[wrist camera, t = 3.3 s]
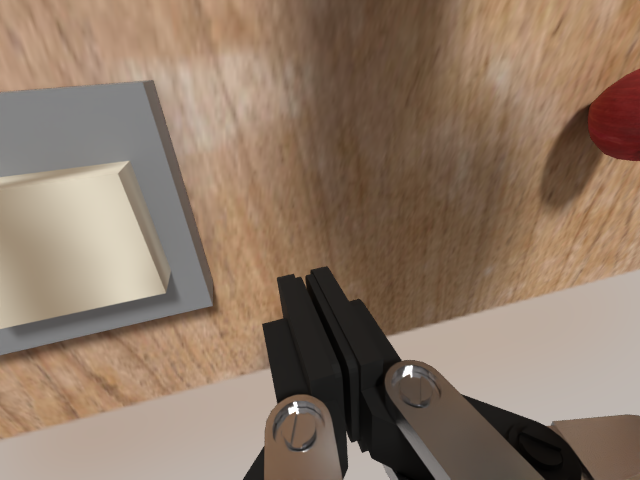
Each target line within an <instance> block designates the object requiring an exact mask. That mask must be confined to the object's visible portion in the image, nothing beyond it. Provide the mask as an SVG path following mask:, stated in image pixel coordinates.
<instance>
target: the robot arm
mask: <svg viewBox="0 0 640 480" xmlns="http://www.w3.org/2000/svg"><path fill="white" fill-rule="evenodd" d="M310 273H311V274H310V275H306V277H305V278H306V287H305V284H304V282H303V280H302V278H301V277H297V278H295V276H294V274H291V275H286V276H282V277H277V282H278V288H279V294H280V300H281V306H282V312H283V318H284V319H280V320H276V321H272V322H268V323H264V324H262V326H263V331H264V336H265V342H266V347H267V352H268V357H269V362H270V368H271V373H272V378H273V383H274V388H275V394H276V399H277V405H276V407H275V408H274V409H273V410H272V411H271V413H270V415H269V417H268V419H267V421H266V427H265V446H264V447H263V449H262V450H261V452H260V454H259V455H258V457H257V458H256V460H255V461H254V463H253V465H252V466H251V468H250V469H249V471H248V472H247V474H246V476H245V477H244V479H243V480H343V478H344V476H345V474H346V471H347V469H348V458H347V457H348V456H347V438H346V431H347V434H348V437H349V439H350V441H351V442H355V441H358V444H359V446H360V449H361V451H362V453H363V452H365V451H369V453H370V455H371V458H372V459H374V460H376V461H378V462H380V463H382V464H383V466H384V468H385V471H386V473H387V475H388V476H389V478H390V480H640V416H638V415H617V416H607V417H606V416H605V417H594V418H585V419H574V420H562V421H553V422H552V424H551V426H545V425H543V424H541V423H539V422H536V421H534V420H531V419H528V418H525V417H523V416H520V415H517V414H514V413H512V412H509V411H506V410H503V409H501V408H498V407H495V406H492V405H490V404H487V403H484V402H481V401H478V400H475V399H473V398H470V397H468V396H465V395H462V394H460V393H459V392H458V391H457V390H456V389H455V388H454V387H453V386H452V385H451V384H450V383H449V382H448V381H447V380H446V379H445V378H444V377H443V376H442V375H441V374H440V373H439V372H438V371H437V370H436V369H434V368H433V367H432V366H430V365H428V364H426V363H424V362H420V361H415V360H404V361H401V359H400V357H399V356H398V354H397V353H396V351H395V350H394V348H393V347H392V345H391V344H390V342H389V341H388V339H387V338H386V336H385V335H384V333H383V332H382V330H381V329H380V327H379V326H378V324H377V323H376V321H375V320H374V318H373V317H372V315H371V314H370V312H369V311H368V309H367V308H366V306H365V305H364V303H363V302H362V301H361V300H360V299H357V300H353V301H348V299H347V298H346V296H345V294H344V293H343V291H342V289H341V288H340V286H339V284H338V283H337V281H336V279H335V278H334V276H333V274H332V273H331V271H330V269H329V268H328V267H327V266H326V267H321V268H317V269H313V270H311V272H310ZM306 288H307V289H306Z"/></svg>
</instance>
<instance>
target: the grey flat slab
mask: <svg viewBox="0 0 640 480" xmlns="http://www.w3.org/2000/svg"><path fill="white" fill-rule="evenodd" d="M123 161H130V162H131V165H132V168H133V170H134V173H135V176H136V178H137V181H138V184H139V186H140V189H141V192H142V194H143V197H144V200H145V202H146V205H147V208H148V210H149V213H150V216H151V219H152V221H153V224H154V227H155V229H156V232H157V235H158V237H159V240H160V243H161V245H162V248H163V251H164V253H165V256H166V259H167V261H168V264H169V267H170V269H171V273H170V277H169V282H168V286H167V291H166V293H164V294H160V295H155V296H150V297H146V298H141V299H137V300H132V301H127V302H123V303H118V304H113V305H109V306H104V307H100V308H95V309H90V310H86V311H81V312H77V313H72V314H67V315H63V316H58V317H54V318H49V319H44V320H40V321H35V322H31V323H26V324H21V325H17V326H12V327H8V328H3V329H0V355H3V354H8V353H12V352H16V351H20V350H25V349H29V348H33V347H38V346H42V345H46V344H51V343H55V342H59V341H63V340H68V339H72V338H76V337H81V336H85V335H89V334H94V333H98V332H102V331H106V330H111V329H115V328H119V327H124V326H128V325H132V324H137V323H141V322H145V321H150V320H154V319H158V318H162V317H167V316H171V315H175V314H180V313H184V312H188V311H193V310H197V309H201V308H205V307H210V306H213V280H212V276H211V273H210V270H209V266H208V263H207V260H206V256H205V253H204V249H203V246H202V243H201V239H200V236H199V233H198V229H197V226H196V223H195V219H194V216H193V213H192V209H191V206H190V202H189V199H188V196H187V192H186V189H185V186H184V182H183V179H182V176H181V172H180V169H179V165H178V162H177V159H176V155H175V152H174V149H173V145H172V142H171V139H170V135H169V132H168V128H167V125H166V122H165V118H164V115H163V112H162V108H161V105H160V102H159V98H158V95H157V92H156V88H155V85H154V81H153V80H150V81H137V82H124V83H111V84H98V85H85V86H73V87H60V88H47V89H34V90H21V91H8V92H0V177H6V176H14V175H22V174H30V173H37V172H45V171H53V170H61V169H69V168H77V167H84V166H92V165H100V164H108V163H116V162H123Z"/></svg>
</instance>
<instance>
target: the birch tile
mask: <svg viewBox="0 0 640 480" xmlns="http://www.w3.org/2000/svg"><path fill="white" fill-rule="evenodd" d="M170 273H171V269H170V267H169V264H168V261H167V259H166V256H165V253H164V251H163V248H162V245H161V243H160V240H159V237H158V235H157V232H156V229H155V227H154V224H153V221H152V219H151V216H150V213H149V210H148V208H147V205H146V202H145V200H144V197H143V194H142V192H141V189H140V186H139V184H138V181H137V178H136V176H135V173H134V170H133V168H132V165H131V162H130V161H123V162H116V163H108V164H100V165H92V166H84V167H77V168H69V169H61V170H53V171H45V172H37V173H30V174H22V175H14V176H6V177H0V329H3V328H8V327H12V326H17V325H21V324H26V323H31V322H35V321H40V320H44V319H49V318H54V317H58V316H63V315H67V314H72V313H77V312H81V311H86V310H90V309H95V308H100V307H104V306H109V305H113V304H118V303H123V302H127V301H132V300H137V299H141V298H146V297H150V296H155V295H160V294H164V293H166V291H167V286H168V282H169V277H170Z"/></svg>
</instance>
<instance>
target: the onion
mask: <svg viewBox="0 0 640 480" xmlns="http://www.w3.org/2000/svg"><path fill="white" fill-rule="evenodd" d="M588 130H589V134H590V138H591V140H592V141H593V142H594V143H595V145H596V146H597V147H598V148H599V149H600V150H601V151H602V152H603V153H604V154H606V155H609V156H611V157H614V158H616V159H622V160H630V161H640V69H638V70H636V71H634V72H632V73H630V74H628V75H626V76H624V77H623V78H621V79H620V80H618V81H617V82H616V83H614V84H613V85H611V86H610V87H608V88H607V89H606V90H605V91H604V92H603V93H602V94H601V95H600V96H599V97H598V98H597V99H596V100H595V101H593V102H592V104H591V106H590V107H589V113H588Z"/></svg>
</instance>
